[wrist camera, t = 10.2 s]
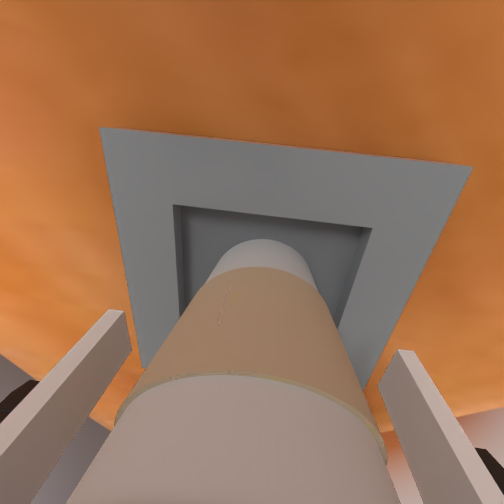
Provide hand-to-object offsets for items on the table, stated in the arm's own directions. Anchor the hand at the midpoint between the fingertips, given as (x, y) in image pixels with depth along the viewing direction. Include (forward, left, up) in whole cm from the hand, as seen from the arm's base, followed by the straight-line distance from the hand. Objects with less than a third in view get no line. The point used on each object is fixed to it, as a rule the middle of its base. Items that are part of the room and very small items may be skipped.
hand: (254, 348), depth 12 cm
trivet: (0, 0, -6) cm, 6 cm away
